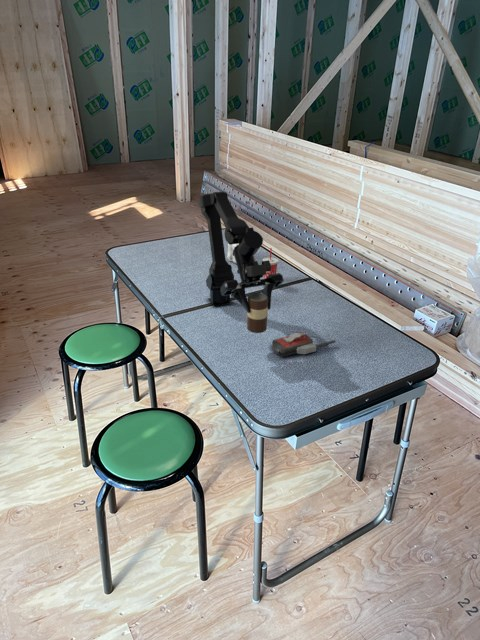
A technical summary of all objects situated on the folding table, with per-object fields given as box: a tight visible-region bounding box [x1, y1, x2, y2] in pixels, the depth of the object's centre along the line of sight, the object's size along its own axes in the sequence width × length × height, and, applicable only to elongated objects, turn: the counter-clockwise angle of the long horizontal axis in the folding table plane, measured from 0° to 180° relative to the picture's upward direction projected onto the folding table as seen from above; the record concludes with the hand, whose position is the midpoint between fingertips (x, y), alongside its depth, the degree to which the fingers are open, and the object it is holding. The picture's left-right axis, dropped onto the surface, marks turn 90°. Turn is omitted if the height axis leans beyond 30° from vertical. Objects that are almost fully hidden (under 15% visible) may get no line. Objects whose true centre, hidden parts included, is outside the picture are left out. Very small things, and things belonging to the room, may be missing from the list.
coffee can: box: [246, 292, 269, 334], centre depth 146 cm, size 6×6×11 cm
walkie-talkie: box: [271, 331, 336, 358], centre depth 151 cm, size 9×4×20 cm
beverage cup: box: [262, 247, 279, 279], centre depth 193 cm, size 6×6×14 cm
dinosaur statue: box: [226, 242, 239, 264], centre depth 212 cm, size 7×24×11 cm, turn 25°
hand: (259, 310), depth 145 cm, fingers closed on coffee can, 6 cm apart
